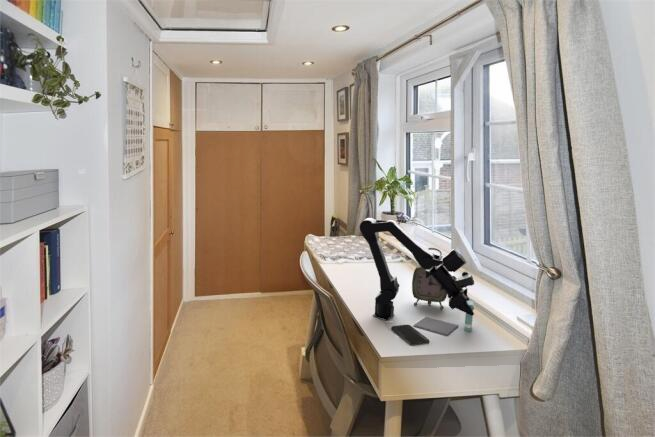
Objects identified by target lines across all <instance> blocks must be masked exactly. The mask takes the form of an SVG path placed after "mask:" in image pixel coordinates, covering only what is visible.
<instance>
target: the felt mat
mask: <svg viewBox="0 0 655 437" xmlns="http://www.w3.org/2000/svg"><path fill="white" fill-rule="evenodd" d="M414 327H415V328H419V329H422V330H425V331H429V332H432V333H436V334H439V335H443V336H446V337H447V336H449V335H450V334H451V333H452V332H454V330H456V329H457V328H458V327H459V324H454V323H451V322H447V321H444V320H440V319H437V318H432V317H429V316H424V317H423V318H422V319H421V320H419V321H417V322H416V323H414V324H413V328H414Z"/></svg>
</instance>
